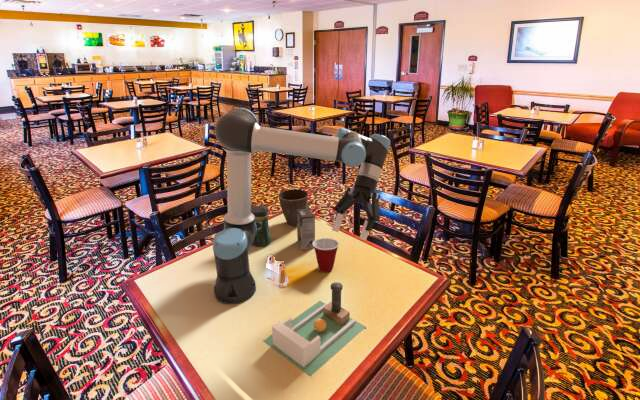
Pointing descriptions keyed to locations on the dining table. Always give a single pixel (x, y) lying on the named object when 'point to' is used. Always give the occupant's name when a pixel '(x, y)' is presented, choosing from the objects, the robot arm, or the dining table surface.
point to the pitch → (321, 336)
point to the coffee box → (305, 228)
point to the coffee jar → (261, 225)
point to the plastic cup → (325, 253)
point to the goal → (295, 343)
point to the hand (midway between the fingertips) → (348, 235)
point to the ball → (320, 325)
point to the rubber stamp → (336, 306)
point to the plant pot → (292, 204)
